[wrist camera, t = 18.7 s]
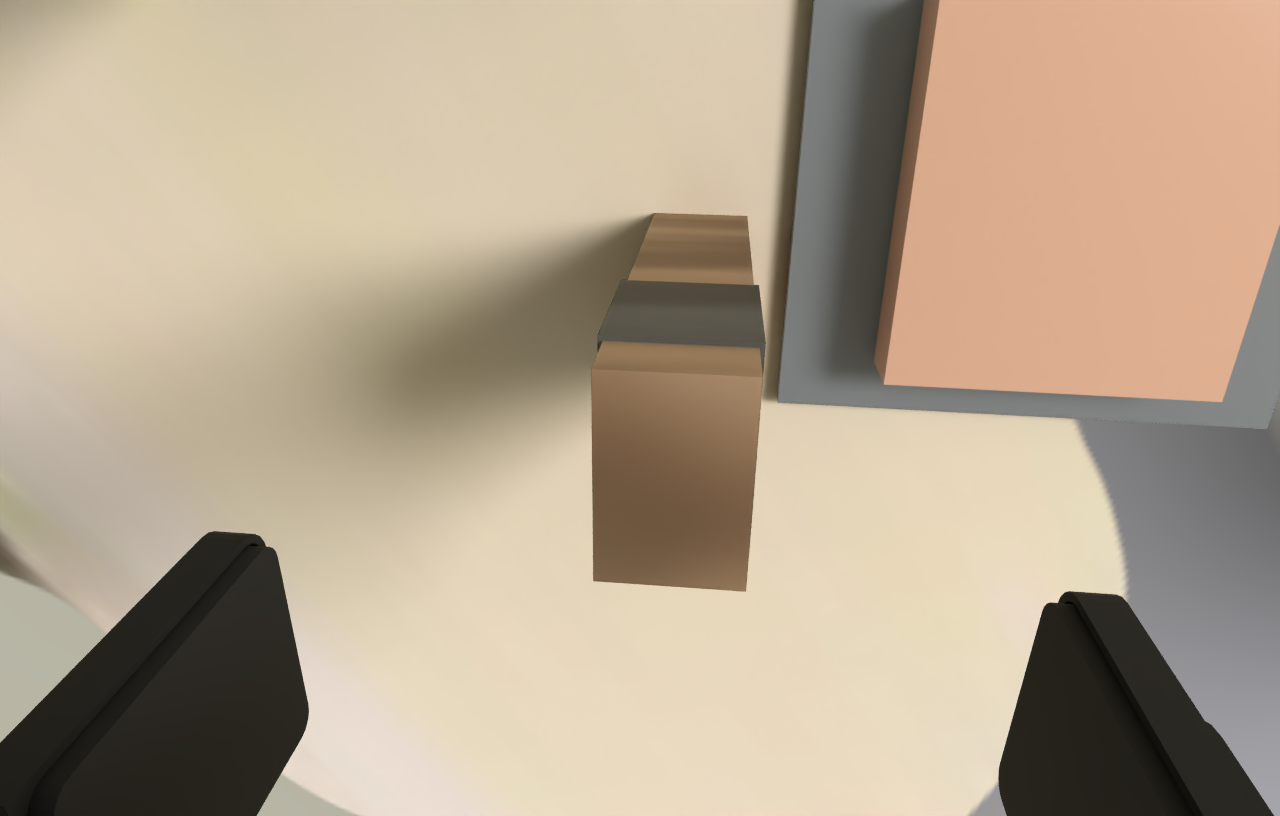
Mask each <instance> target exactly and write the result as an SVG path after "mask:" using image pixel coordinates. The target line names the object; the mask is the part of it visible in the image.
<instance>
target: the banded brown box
mask: <svg viewBox="0 0 1280 816" xmlns="http://www.w3.org/2000/svg"><path fill="white" fill-rule="evenodd" d="M765 344H766V343H765V334H764V325H763V317H762V308H761V300H760V291H759V285H754V282H753V272H752V262H751V251H750V241H749V231H748V220H747V216H724V215H694V214H663V213H654V216H653V218H652V221H651V223H650V226H649V228H648V231H647V233H646V236H645V238H644V240H643V243H642V245H641V248H640V250H639V253H638V255H637V258H636V260H635V263H634V265H633V268H632V270H631V272H630V275H629V277H628V280H621V282H620V285H619V287H618V289H617V292H616V294H615V296H614V299H613V301H612V303H611V305H610V308H609V310H608V312H607V315H606V317H605V319H604V322H603V324H602V326H601V329H600V331H599V333H598V354H597V356H596V359H595V361H594V363H593V366H592V368H591V394H592V492H593V581H600V582H614V583H629V584H644V585H658V586H673V587H687V588H702V589H717V590H731V591H746V584H747V572H748V559H749V548H750V535H751V523H752V510H753V497H754V484H755V472H756V459H757V446H758V433H759V421H760V408H761V395H762V382H763V369H764V357H765Z"/></svg>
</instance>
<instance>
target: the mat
mask: <svg viewBox="0 0 1280 816" xmlns="http://www.w3.org/2000/svg"><path fill="white" fill-rule="evenodd" d="M923 3H924V0H813V4H812V15H811V26H810V37H809V48H808V59H807V70H806V81H805V92H804V103H803V114H802V125H801V136H800V147H799V158H798V169H797V180H796V191H795V202H794V213H793V224H792V235H791V246H790V257H789V268H788V279H787V290H786V301H785V312H784V323H783V334H782V345H781V356H780V367H779V378H778V389H777V400H778V402H779V403H798V404H816V405H835V406H853V407H872V408H890V409H909V410H927V411H946V412H964V413H983V414H1001V415H1019V416H1038V417H1056V418H1075V419H1093V420H1113V421H1131V422H1149V423H1167V424H1187V425H1205V426H1223V427H1241V428H1261V429H1267V427H1268V424H1269V421H1270V418H1271V415H1272V413H1273V410H1274V407H1275V404H1276V401H1277V398H1278V396H1279V393H1280V225H1279V228H1278V231H1277V235H1276V238H1275V241H1274V244H1273V247H1272V250H1271V253H1270V256H1269V259H1268V262H1267V265H1266V268H1265V272H1264V275H1263V278H1262V281H1261V284H1260V287H1259V290H1258V293H1257V296H1256V299H1255V302H1254V305H1253V309H1252V312H1251V315H1250V318H1249V321H1248V324H1247V327H1246V330H1245V333H1244V336H1243V339H1242V342H1241V346H1240V349H1239V352H1238V355H1237V358H1236V361H1235V364H1234V367H1233V370H1232V373H1231V376H1230V379H1229V383H1228V386H1227V389H1226V392H1225V395H1224V398H1223V401H1222V402H1210V401H1191V400H1171V399H1152V398H1133V397H1114V396H1094V395H1075V394H1056V393H1037V392H1017V391H998V390H979V389H960V388H940V387H921V386H902V385H884V384H883V382H882V380H881V377H880V375H879V373H878V370H877V368H876V366H875V363H874V356H875V349H876V342H877V334H878V327H879V320H880V313H881V306H882V298H883V291H884V284H885V277H886V270H887V262H888V255H889V248H890V241H891V234H892V226H893V219H894V212H895V205H896V198H897V190H898V183H899V176H900V169H901V162H902V154H903V147H904V140H905V133H906V126H907V118H908V111H909V104H910V97H911V90H912V82H913V75H914V68H915V61H916V54H917V47H918V39H919V32H920V25H921V18H922V11H923Z"/></svg>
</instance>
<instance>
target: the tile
mask: <svg viewBox="0 0 1280 816" xmlns="http://www.w3.org/2000/svg"><path fill="white" fill-rule="evenodd" d="M1279 225H1280V0H924V3H923V11H922V18H921V25H920V32H919V39H918V47H917V54H916V61H915V68H914V75H913V82H912V90H911V97H910V104H909V111H908V118H907V126H906V133H905V140H904V147H903V154H902V162H901V169H900V176H899V183H898V190H897V198H896V205H895V212H894V219H893V226H892V234H891V241H890V248H889V255H888V262H887V270H886V277H885V284H884V291H883V298H882V306H881V313H880V320H879V327H878V334H877V342H876V349H875V356H874V363H875V366H876V368H877V370H878V373H879V375H880V377H881V380H882V382H883V384H884V385H902V386H921V387H940V388H960V389H979V390H998V391H1017V392H1037V393H1056V394H1075V395H1094V396H1114V397H1133V398H1152V399H1171V400H1191V401H1210V402H1222V401H1223V398H1224V395H1225V392H1226V389H1227V386H1228V383H1229V379H1230V376H1231V373H1232V370H1233V367H1234V364H1235V361H1236V358H1237V355H1238V352H1239V349H1240V346H1241V342H1242V339H1243V336H1244V333H1245V330H1246V327H1247V324H1248V321H1249V318H1250V315H1251V312H1252V309H1253V305H1254V302H1255V299H1256V296H1257V293H1258V290H1259V287H1260V284H1261V281H1262V278H1263V275H1264V272H1265V268H1266V265H1267V262H1268V259H1269V256H1270V253H1271V250H1272V247H1273V244H1274V241H1275V238H1276V235H1277V231H1278V228H1279Z"/></svg>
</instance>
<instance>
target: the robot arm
mask: <svg viewBox="0 0 1280 816" xmlns="http://www.w3.org/2000/svg"><path fill="white" fill-rule="evenodd" d="M308 714H309V708H308V701H307V696H306V691H305V686H304V682H303V677H302V672H301V667H300V662H299V657H298V653H297V648H296V643H295V638H294V633H293V628H292V624H291V619H290V614H289V609H288V604H287V599H286V595H285V590H284V585H283V580H282V575H281V570H280V566H279V561H278V557H277V554H276V551H275V550H274V549H273V548H271V547H266V546H265V543H264V541H263V539H262V538H261V537H260V536H258V535H256V534H245V533H230V532H216V531H214V532H209V533H207V534H206V535H205V536H203V537H202V538H201V539H200V540H199V541H198V542H197V543H196V544H195V545H194V546H193V547H192V548H191V549H190V550H189V551H188V552H187V553H186V554H185V555H184V556H183V557H182V558H181V559H180V560H179V561H178V562H177V563H176V564H175V565H174V566H173V567H172V569H171V570H170V571H169V572H168V573H167V574H166V575H165V576H164V577H163V578H162V579H161V580H160V581H159V582H158V583H157V584H156V585H155V586H154V587H153V588H152V589H151V590H150V591H149V592H148V593H147V594H146V595H145V596H144V597H143V598H142V599H141V600H140V601H139V602H138V603H137V604H136V605H135V606H134V607H133V608H132V609H131V610H130V611H129V612H128V613H127V614H126V615H125V616H124V617H123V618H122V619H121V620H120V621H119V622H118V623H117V625H116V626H115V627H114V628H113V629H112V630H111V631H110V632H109V633H108V634H107V635H106V636H105V637H104V638H103V639H102V640H101V641H100V642H99V643H98V644H97V645H96V646H95V647H94V648H93V649H92V650H91V651H90V652H89V653H88V654H87V655H86V656H85V657H84V658H83V659H82V660H81V661H80V662H79V663H78V664H77V665H76V666H75V668H73V669H72V670H71V671H70V672H69V673H68V675H66V677H65V678H63V680H61V682H60V683H59V684H58V685H57V686H56V687H55V688H54V689H53V690H52V691H51V692H50V693H49V694H48V695H47V696H46V697H45V698H44V699H43V700H42V701H41V702H40V703H39V704H38V705H37V706H36V707H35V708H34V709H33V710H32V711H31V712H30V713H29V714H28V715H27V716H26V717H25V718H24V719H23V720H22V721H21V722H20V723H19V724H18V725H17V726H16V727H15V728H14V729H13V730H12V731H11V732H10V733H9V734H8V735H7V736H6V738H5V739H4V740H3V741H2V742H1V743H0V816H257V814H258V812H259V810H260V809H261V807H262V805H263V803H264V802H265V800H266V798H267V797H268V795H269V793H270V792H271V790H272V788H273V786H274V785H275V783H276V781H277V779H278V778H279V776H280V774H281V773H282V771H283V769H284V767H285V766H286V764H287V762H288V761H289V759H290V757H291V755H292V754H293V752H294V750H295V749H296V747H297V745H298V743H299V742H300V740H301V738H302V736H303V734H304V732H305V729H306V726H307V721H308ZM999 789H1000V795H1001V799H1002V802H1003V805H1004V808H1005V811H1006V814H1007V816H1274V815H1273V814H1272V812H1271V810H1270V809H1269V808H1268V806H1267V804H1266V803H1265V802H1264V800H1263V799H1262V797H1261V795H1260V794H1259V792H1258V791H1257V789H1256V788H1255V786H1254V785H1253V783H1252V782H1251V780H1250V779H1249V777H1248V776H1247V774H1246V773H1245V771H1244V770H1243V768H1242V767H1241V765H1240V764H1239V762H1238V761H1237V759H1236V758H1235V756H1234V755H1233V753H1232V752H1231V751H1230V749H1229V747H1228V746H1227V744H1226V743H1225V741H1224V740H1223V738H1222V737H1221V736H1220V734H1219V733H1218V732H1217V731H1216V730H1215V729H1214V728H1213V727H1212V725H1210V724H1209V723H1207V722H1205V721H1204V719H1203V718H1202V716H1201V714H1200V713H1199V711H1198V710H1197V709H1196V707H1195V705H1194V704H1193V702H1192V701H1191V699H1190V698H1189V696H1188V695H1187V693H1186V692H1185V690H1184V689H1183V687H1182V686H1181V684H1180V682H1179V681H1178V679H1177V678H1176V676H1175V675H1174V673H1173V672H1172V670H1171V669H1170V667H1169V666H1168V664H1167V663H1166V661H1165V660H1164V658H1163V656H1162V655H1161V654H1160V652H1159V650H1158V649H1157V647H1156V646H1155V644H1154V643H1153V641H1152V640H1151V638H1150V637H1149V635H1148V634H1147V632H1146V631H1145V629H1144V627H1143V626H1142V624H1141V623H1140V621H1139V620H1138V618H1137V617H1136V615H1135V614H1134V612H1133V611H1132V609H1131V608H1130V606H1129V605H1128V603H1127V602H1126V601H1125V600H1124V599H1123V597H1121V596H1118V595H1113V594H1099V593H1085V592H1071V591H1069V592H1065V593H1064V594H1063V595H1062V596H1061V597H1060V599H1059V602H1058V603H1048V604H1046V606H1045V607H1044V609H1043V611H1042V614H1041V618H1040V622H1039V625H1038V629H1037V632H1036V636H1035V640H1034V643H1033V647H1032V650H1031V654H1030V658H1029V661H1028V665H1027V668H1026V672H1025V676H1024V679H1023V683H1022V686H1021V690H1020V694H1019V697H1018V701H1017V704H1016V708H1015V712H1014V715H1013V719H1012V722H1011V726H1010V730H1009V733H1008V737H1007V740H1006V744H1005V748H1004V751H1003V755H1002V759H1001V762H1000V767H999Z"/></svg>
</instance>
